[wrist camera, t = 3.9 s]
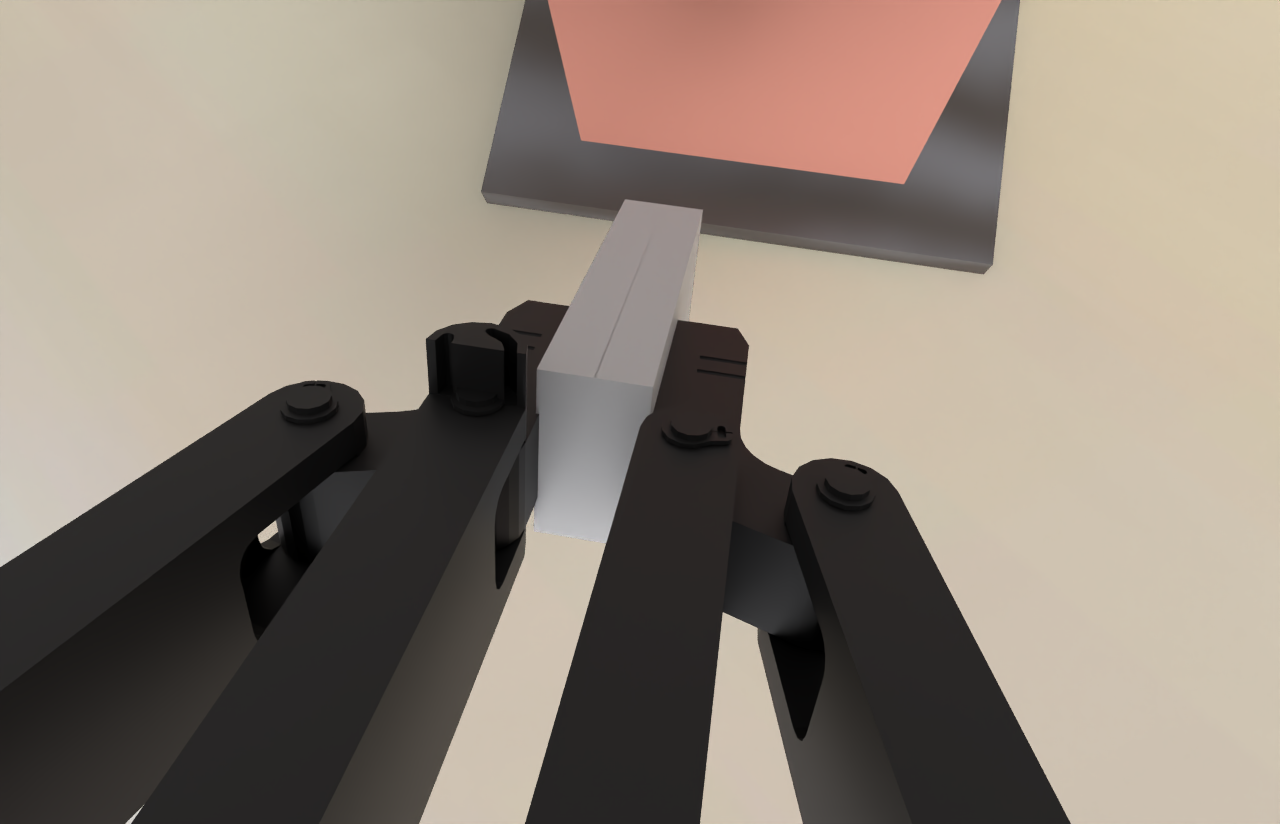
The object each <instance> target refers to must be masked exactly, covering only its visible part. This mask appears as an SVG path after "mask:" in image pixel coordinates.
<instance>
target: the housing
mask: <svg viewBox="0 0 1280 824" xmlns="http://www.w3.org/2000/svg"><path fill="white" fill-rule="evenodd" d="M1019 4H1020V0H1001V2H1000V4H999V6H998V8H997V10H996V12H995V14H994V15H993V17H992V19H991V21H990V23H989V25H988V27H987V29H986V31H985V32H984V34H983V36H982V38H981V40H980V42H979V44H978V46H977V47H976V49H975V51H974V53H973V55H972V57H971V59H970V61H969V63H968V64H967V66H966V68H965V70H964V72H963V74H962V76H961V78H960V80H959V81H958V83H957V85H956V87H955V89H954V91H953V93H952V95H951V97H950V98H949V100H948V102H947V104H946V106H945V108H944V110H943V112H942V114H941V115H940V117H939V119H938V121H937V123H936V125H935V127H934V129H933V130H932V132H931V134H930V136H929V138H928V140H927V142H926V144H925V146H924V147H923V149H922V151H921V153H920V155H919V157H918V159H917V161H916V163H915V164H914V166H913V168H912V170H911V172H910V174H909V176H908V178H907V180H906V181H905V183H904V184H898V183H891V182H883V181H876V180H869V179H861V178H854V177H847V176H839V175H832V174H825V173H817V172H810V171H802V170H795V169H788V168H780V167H773V166H766V165H758V164H751V163H744V162H736V161H729V160H721V159H714V158H707V157H699V156H692V155H685V154H677V153H670V152H663V151H655V150H648V149H640V148H633V147H626V146H618V145H611V144H604V143H596V142H589V141H582V140H581V138H580V134H579V130H578V125H577V121H576V117H575V113H574V109H573V104H572V100H571V96H570V92H569V88H568V83H567V79H566V75H565V71H564V67H563V62H562V58H561V54H560V50H559V46H558V41H557V37H556V33H555V29H554V25H553V20H552V16H551V12H550V8H549V4H548V0H525V4H524V9H523V13H522V17H521V22H520V26H519V30H518V35H517V39H516V43H515V48H514V52H513V56H512V61H511V65H510V69H509V74H508V78H507V82H506V87H505V91H504V95H503V100H502V104H501V108H500V113H499V117H498V121H497V125H496V130H495V134H494V138H493V143H492V147H491V151H490V156H489V160H488V164H487V169H486V173H485V177H484V182H483V186H482V190H481V192H482V194H483V196H484V198H485V200H486V202H487V203H492V204H499V205H506V206H513V207H520V208H527V209H534V210H541V211H548V212H555V213H562V214H569V215H576V216H583V217H590V218H597V219H604V220H610V221H614V220H615V218H616V216H617V214H618V212H619V210H620V208H621V206H622V204H623V202H624V201H625V199H627V200H634V201H642V202H649V203H657V204H664V205H671V206H679V207H686V208H694V209H701V210H703V213H702V221H701V229H700V233H701V234H708V235H715V236H722V237H729V238H736V239H742V240H749V241H756V242H763V243H770V244H777V245H784V246H791V247H798V248H805V249H812V250H819V251H826V252H833V253H840V254H847V255H854V256H861V257H867V258H874V259H881V260H888V261H895V262H902V263H909V264H916V265H923V266H930V267H937V268H944V269H951V270H958V271H965V272H972V273H979V274H984V273H985V272H986V271H987V270H988V269H989V268H990V267H991V266H992V265H993V256H994V247H995V237H996V227H997V218H998V208H999V198H1000V188H1001V179H1002V169H1003V159H1004V150H1005V140H1006V130H1007V121H1008V111H1009V101H1010V92H1011V82H1012V72H1013V62H1014V53H1015V43H1016V33H1017V24H1018V14H1019Z"/></svg>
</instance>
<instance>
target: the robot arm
mask: <svg viewBox="0 0 1280 824" xmlns="http://www.w3.org/2000/svg"><path fill="white" fill-rule="evenodd" d="M702 213H703V210H701V209H694V208H686V207H679V206H671V205H664V204H657V203H649V202H642V201H634V200H627V199H625V201H624V202H623V204H622V206H621V208H620V210H619V212H618V214H617V216H616V218H615V220H614V222H613V224H612V226H611V227H610V229H609V231H608V233H607V235H606V237H605V239H604V241H603V243H602V245H601V247H600V249H599V251H598V252H597V254H596V256H595V258H594V260H593V262H592V264H591V266H590V268H589V270H588V272H587V274H586V275H585V277H584V279H583V281H582V283H581V285H580V287H579V289H578V291H577V293H576V295H575V297H574V299H573V300H572V302H571V304H570V306H564V305H557V304H550V303H543V302H537V301H530V300H528V301H526V302H524V303H522V304H521V305H519V306H517V307H515V308H514V309H512V310H510V311H508V312H507V313H506V315H505V316H504V318H503V319H502V321H501V322H500V324H499V325H496V324H492V323H476V322H470V323H462V324H455V325H451V326H448V327H445V328H442V329H440V330H437V331H435V332H434V333H433V334H432V335H430V336H429V337H428V338H427V339H426V350H427V365H428V381H429V395H428V396H427V397H426V399H425V400H424V402H423V403H422V405H421V406H420V408H419V409H417V410H411V411H401V412H380V413H366V412H365V404H364V400H363V398H362V397H361V395H360V394H359V392H358V391H357V390H355V389H353V388H351V387H349V386H347V385H345V384H341V383H335V382H330V381H318V380H317V381H305V382H302V383H297V384H293V385H288V386H285V387H283V388H281V389H279V390H277V391H274V392H272V393H270V394H268V395H267V396H265V397H264V398H262V399H261V400H259V401H257V402H256V403H254V404H253V405H251V406H250V407H248V408H247V409H245V410H244V411H242V412H240V413H239V414H237V415H236V416H234V417H233V418H231V419H230V420H228V421H226V422H225V423H223V424H222V425H220V426H219V427H217V428H216V429H214V430H213V431H211V432H209V433H208V434H206V435H205V436H203V437H202V438H200V439H199V440H197V441H195V442H194V443H192V444H191V445H189V446H188V447H186V448H185V449H183V450H181V451H180V452H178V453H177V454H175V455H174V456H172V457H171V458H169V459H168V460H166V461H164V462H163V463H161V464H160V465H158V466H157V467H155V468H154V469H152V470H150V471H149V472H147V473H146V474H144V475H143V476H141V477H140V478H138V479H137V480H135V481H133V482H132V483H130V484H129V485H127V486H126V487H124V488H123V489H121V490H119V491H118V492H116V493H115V494H113V495H112V496H110V497H109V498H107V499H105V500H104V501H102V502H101V503H99V504H98V505H96V506H95V507H93V508H92V509H90V510H88V511H87V512H85V513H84V514H82V515H81V516H79V517H78V518H76V519H74V520H73V521H71V522H70V523H68V524H67V525H65V526H64V527H62V528H60V529H59V530H57V531H56V532H54V533H53V534H51V535H50V536H48V537H47V538H45V539H43V540H42V541H40V542H39V543H37V544H36V545H34V546H33V547H31V548H29V549H28V550H26V551H25V552H23V553H22V554H20V555H19V556H17V557H16V558H14V559H12V560H11V561H9V562H8V563H6V564H5V565H3V566H2V567H0V824H125V823H126V822H127V821H128V820H129V819H130V818H131V817H132V816H133V815H134V814H135V813H136V812H137V811H138V810H139V809H140V808H141V807H142V806H143V805H144V806H143V807H142V809H141V810H140V812H139V813H138V815H137V816H136V817H135V819H134V820H133V822H132V823H131V824H419V822H420V820H421V817H422V815H423V812H424V809H425V807H426V804H427V802H428V799H429V797H430V794H431V792H432V789H433V787H434V784H435V782H436V779H437V776H438V774H439V771H440V769H441V766H442V764H443V761H444V759H445V756H446V754H447V751H448V749H449V746H450V743H451V741H452V738H453V736H454V733H455V731H456V728H457V726H458V723H459V721H460V718H461V715H462V713H463V710H464V708H465V705H466V703H467V700H468V698H469V695H470V693H471V690H472V688H473V685H474V682H475V680H476V677H477V675H478V672H479V670H480V667H481V665H482V662H483V660H484V657H485V655H486V652H487V649H488V647H489V644H490V642H491V639H492V637H493V634H494V632H495V629H496V627H497V624H498V622H499V619H500V616H501V614H502V611H503V609H504V606H505V604H506V601H507V599H508V596H509V594H510V591H511V589H512V586H513V583H514V581H515V578H516V576H517V573H518V571H519V568H520V566H521V563H522V561H523V558H524V554H525V545H526V524H527V522H528V519H529V517H530V515H531V512H532V510H533V507H534V531H536V532H542V533H548V534H554V535H560V536H566V537H571V538H577V539H583V540H589V541H595V542H601V543H606V546H605V549H604V553H603V556H602V560H601V563H600V567H599V570H598V574H597V577H596V581H595V584H594V587H593V591H592V594H591V598H590V601H589V605H588V608H587V612H586V615H585V619H584V622H583V625H582V629H581V632H580V636H579V639H578V643H577V646H576V650H575V653H574V657H573V660H572V663H571V667H570V670H569V674H568V677H567V681H566V684H565V688H564V691H563V694H562V698H561V701H560V705H559V708H558V712H557V715H556V719H555V722H554V726H553V729H552V732H551V736H550V739H549V743H548V746H547V750H546V753H545V757H544V760H543V764H542V767H541V770H540V774H539V777H538V781H537V784H536V788H535V791H534V795H533V798H532V802H531V805H530V808H529V812H528V815H527V819H526V822H525V824H700V817H701V808H702V799H703V789H704V780H705V771H706V761H707V752H708V743H709V734H710V724H711V715H712V706H713V697H714V687H715V678H716V669H717V659H718V650H719V641H720V632H721V622H722V613H723V612H724V613H726V614H729V615H731V616H733V617H735V618H737V619H740V620H742V621H744V622H746V623H748V624H751V625H753V626H755V627H757V628H758V644H759V648H760V652H761V656H762V660H763V664H764V668H765V673H766V677H767V681H768V685H769V689H770V693H771V697H772V701H773V705H774V709H775V713H776V717H777V721H778V725H779V729H780V733H781V737H782V741H783V745H784V749H785V753H786V757H787V761H788V765H789V769H790V773H791V777H792V781H793V785H794V789H795V793H796V797H797V801H798V805H799V809H800V813H801V817H802V821H803V824H1071V823H1070V821H1069V819H1068V818H1067V816H1066V814H1065V812H1064V810H1063V808H1062V806H1061V804H1060V802H1059V800H1058V798H1057V796H1056V794H1055V793H1054V791H1053V789H1052V787H1051V785H1050V783H1049V781H1048V779H1047V777H1046V775H1045V773H1044V771H1043V769H1042V768H1041V766H1040V764H1039V762H1038V760H1037V758H1036V756H1035V754H1034V752H1033V750H1032V748H1031V746H1030V744H1029V743H1028V741H1027V739H1026V737H1025V735H1024V733H1023V731H1022V729H1021V727H1020V725H1019V723H1018V721H1017V719H1016V718H1015V716H1014V714H1013V712H1012V710H1011V708H1010V706H1009V704H1008V702H1007V700H1006V698H1005V696H1004V694H1003V693H1002V691H1001V689H1000V687H999V685H998V683H997V681H996V679H995V677H994V675H993V673H992V671H991V669H990V668H989V666H988V664H987V662H986V660H985V658H984V656H983V654H982V652H981V650H980V648H979V646H978V644H977V643H976V641H975V639H974V637H973V635H972V633H971V631H970V629H969V627H968V625H967V623H966V621H965V619H964V618H963V616H962V614H961V612H960V610H959V608H958V606H957V604H956V602H955V600H954V598H953V596H952V594H951V593H950V591H949V589H948V587H947V585H946V583H945V581H944V579H943V577H942V575H941V573H940V571H939V569H938V568H937V566H936V564H935V562H934V560H933V558H932V556H931V554H930V552H929V550H928V548H927V546H926V544H925V543H924V541H923V539H922V537H921V535H920V533H919V531H918V529H917V527H916V525H915V523H914V521H913V519H912V518H911V516H910V514H909V512H908V510H907V508H906V506H905V504H904V502H903V500H902V498H901V496H900V494H899V493H898V491H897V490H896V489H895V487H894V486H893V485H892V484H891V483H890V481H889V480H888V479H887V478H885V477H884V476H882V475H881V474H879V473H878V472H876V471H875V470H873V469H872V468H869V467H867V466H864V465H861V464H858V463H856V462H853V461H848V460H840V459H833V458H829V459H820V460H812V461H810V462H808V463H806V464H804V465H802V466H800V467H799V468H798V469H797V470H796V472H795V473H794V475H791V474H788V473H785V472H783V471H780V470H778V469H776V468H773V467H771V466H769V465H767V464H765V463H763V462H762V461H761V460H759V459H758V458H756V457H755V456H753V454H752V453H751V452H750V451H749V450H748V449H747V448H746V447H745V445H744V443H743V441H742V439H741V435H740V423H741V414H742V405H743V395H744V386H745V377H746V367H747V358H748V349H749V345H748V343H747V342H746V340H745V339H744V337H743V336H742V334H741V333H740V331H739V330H738V329H736V328H730V327H723V326H716V325H709V324H702V323H695V322H689V315H690V307H691V299H692V292H693V284H694V276H695V268H696V260H697V252H698V244H699V236H700V229H701V221H702ZM275 520H276V523H277V528H278V532H277V533H276V534H275V535H274V536H272V537H271V538H270V539H269V540H267V541H265V542H263V543H260V542H259V539H258V534H259V533H260V532H262V531H263V530H264V529H265V528H266V527H268V526H269V525H270V524H271V523H273V522H274V521H275Z"/></svg>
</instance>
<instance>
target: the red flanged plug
mask: <svg viewBox="0 0 1280 824" xmlns="http://www.w3.org/2000/svg"><path fill="white" fill-rule="evenodd" d="M1000 2H1001V0H548V4H549V8H550V12H551V16H552V20H553V25H554V29H555V33H556V37H557V41H558V46H559V50H560V54H561V58H562V62H563V67H564V71H565V75H566V79H567V83H568V88H569V92H570V96H571V100H572V104H573V109H574V113H575V117H576V121H577V125H578V130H579V134H580V138H581V140H582V141H589V142H596V143H604V144H611V145H618V146H626V147H633V148H640V149H648V150H655V151H663V152H670V153H677V154H685V155H692V156H699V157H707V158H714V159H721V160H729V161H736V162H744V163H751V164H758V165H766V166H773V167H780V168H788V169H795V170H802V171H810V172H817V173H825V174H832V175H839V176H847V177H854V178H861V179H869V180H876V181H883V182H891V183H898V184H904V183H905V181H906V180H907V178H908V176H909V174H910V172H911V170H912V168H913V166H914V164H915V163H916V161H917V159H918V157H919V155H920V153H921V151H922V149H923V147H924V146H925V144H926V142H927V140H928V138H929V136H930V134H931V132H932V130H933V129H934V127H935V125H936V123H937V121H938V119H939V117H940V115H941V114H942V112H943V110H944V108H945V106H946V104H947V102H948V100H949V98H950V97H951V95H952V93H953V91H954V89H955V87H956V85H957V83H958V81H959V80H960V78H961V76H962V74H963V72H964V70H965V68H966V66H967V64H968V63H969V61H970V59H971V57H972V55H973V53H974V51H975V49H976V47H977V46H978V44H979V42H980V40H981V38H982V36H983V34H984V32H985V31H986V29H987V27H988V25H989V23H990V21H991V19H992V17H993V15H994V14H995V12H996V10H997V8H998V6H999V4H1000Z"/></svg>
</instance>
